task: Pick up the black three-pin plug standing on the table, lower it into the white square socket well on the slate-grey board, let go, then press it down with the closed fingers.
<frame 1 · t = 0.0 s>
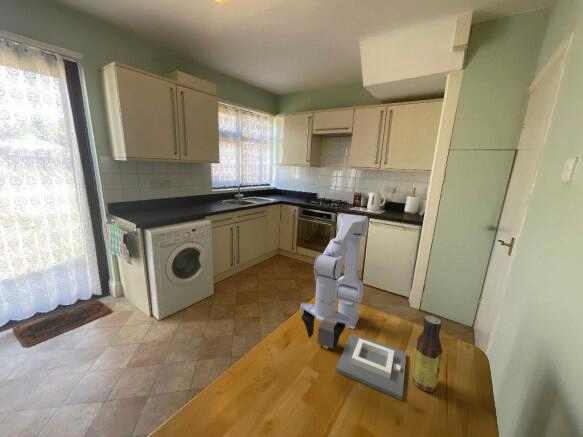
hand: (322, 340, 68), 10 cm above the table, tool pointing down, fingers open, 7 cm apart
sauce bottle: (423, 383, 67), on the table
plug: (327, 345, 81), on the table
socket: (372, 362, 74), on the table
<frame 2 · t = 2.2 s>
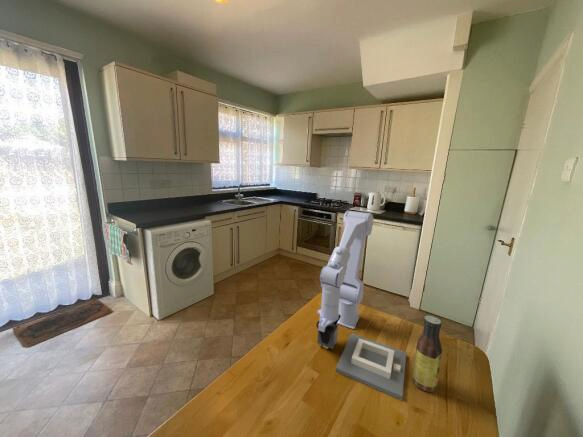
hand: (327, 338, 80), 3 cm above the table, tool pointing down, fingers closed on plug, 4 cm apart
plug: (327, 345, 81), on the table, touching gripper
everything else where it was.
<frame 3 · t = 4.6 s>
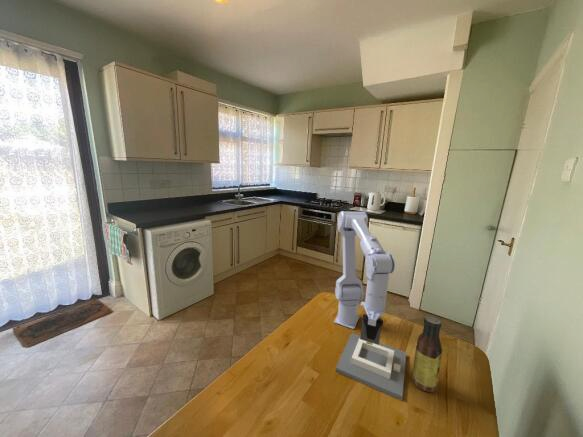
hand: (371, 333, 72), 10 cm above the table, tool pointing down, fingers closed on plug, 4 cm apart
plug: (369, 340, 73), point 7 cm above the table, touching gripper
everything else where it was.
when the fingers open (5 cm above the table, at t = 6.9 s): plug stays where it is, resting on socket.
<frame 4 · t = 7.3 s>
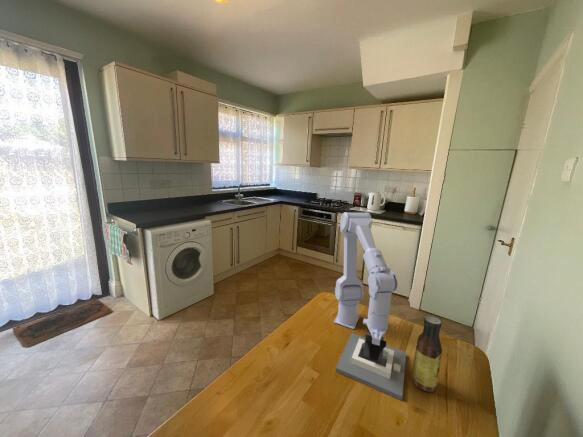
hand: (374, 350, 73), 5 cm above the table, tool pointing down, fingers open, 7 cm apart
plug: (372, 359, 74), point 1 cm above the table, touching socket
everything else where it was.
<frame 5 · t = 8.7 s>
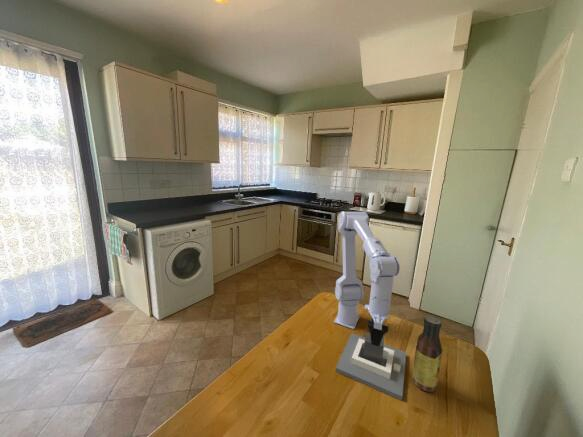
hand: (375, 336, 72), 9 cm above the table, tool pointing down, fingers open, 7 cm apart
nothing on the table moved.
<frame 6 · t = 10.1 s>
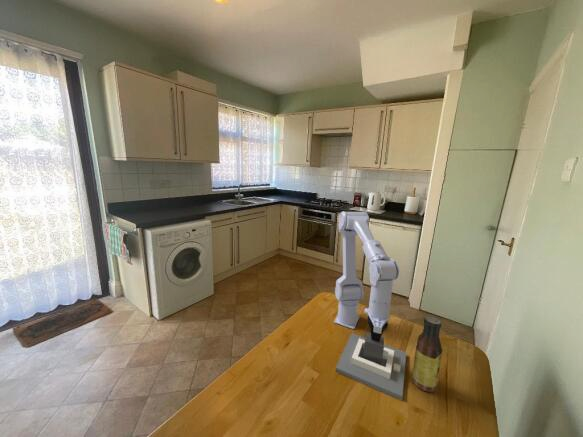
hand: (375, 340, 72), 8 cm above the table, tool pointing down, fingers closed, pressing on plug
plug: (372, 359, 74), point 1 cm above the table, touching gripper, socket
everything else where it was.
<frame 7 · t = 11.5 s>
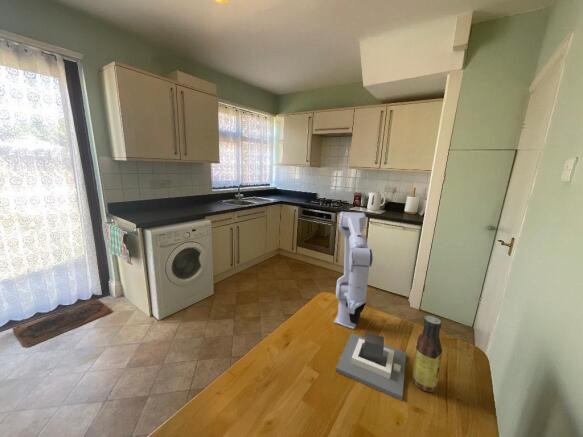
hand: (354, 322, 78), 10 cm above the table, tool pointing down, fingers closed
plug: (372, 359, 74), point 1 cm above the table, touching socket
everything else where it was.
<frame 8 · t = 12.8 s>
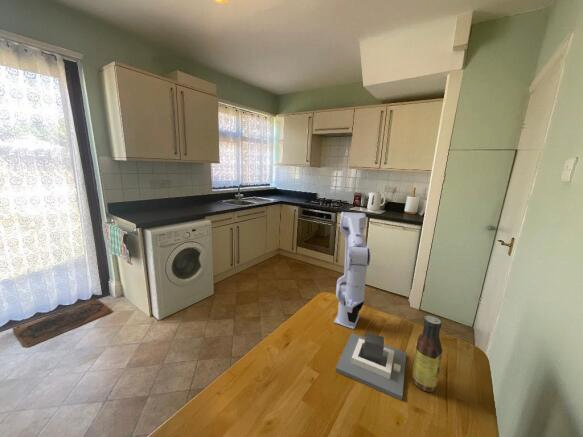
hand: (352, 321, 78), 10 cm above the table, tool pointing down, fingers closed
nothing on the table moved.
at the end: plug 0.2 cm off-centre on the socket, point 1.2 cm above the socket's base; plug tilted 0°; the gripper is holding nothing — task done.
